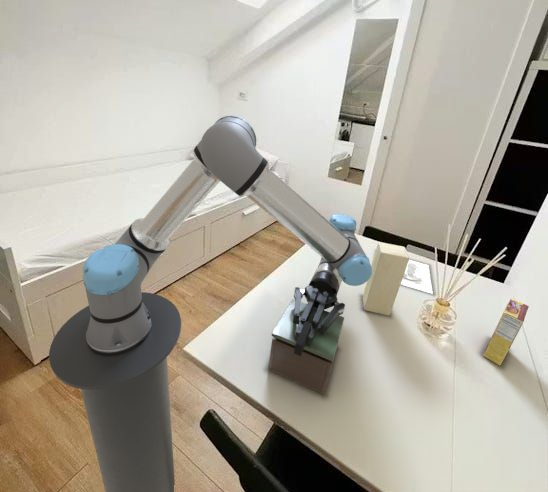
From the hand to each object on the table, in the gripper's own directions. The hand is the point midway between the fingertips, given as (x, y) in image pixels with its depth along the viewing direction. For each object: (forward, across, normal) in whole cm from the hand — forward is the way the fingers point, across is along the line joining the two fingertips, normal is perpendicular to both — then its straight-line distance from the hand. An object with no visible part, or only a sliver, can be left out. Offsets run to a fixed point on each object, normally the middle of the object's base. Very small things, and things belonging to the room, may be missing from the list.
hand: (298, 349), depth 57 cm
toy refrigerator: (-40, -15, -14) cm, 45 cm away
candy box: (-37, -47, -14) cm, 62 cm away
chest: (-11, 0, -14) cm, 18 cm away
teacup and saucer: (-66, -23, -14) cm, 71 cm away
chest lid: (-10, 0, -3) cm, 11 cm away
